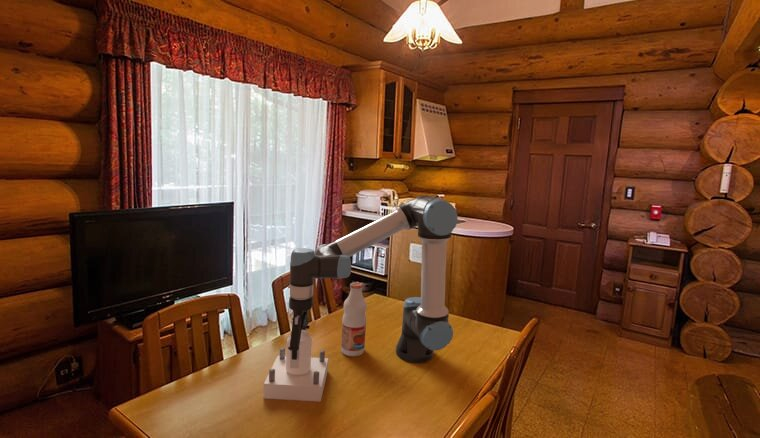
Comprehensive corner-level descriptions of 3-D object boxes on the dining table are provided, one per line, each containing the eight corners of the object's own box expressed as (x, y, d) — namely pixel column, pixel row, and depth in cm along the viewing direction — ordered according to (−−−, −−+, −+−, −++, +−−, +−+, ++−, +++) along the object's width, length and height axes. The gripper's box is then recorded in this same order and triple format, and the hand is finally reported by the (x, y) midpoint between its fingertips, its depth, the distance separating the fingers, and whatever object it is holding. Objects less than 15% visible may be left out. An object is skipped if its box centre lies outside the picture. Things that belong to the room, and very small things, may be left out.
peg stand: (327, 371, 143) (328, 349, 142) (320, 401, 126) (321, 376, 124) (277, 368, 143) (278, 346, 142) (263, 398, 125) (264, 373, 124)
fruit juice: (347, 343, 165) (350, 278, 161) (367, 348, 162) (372, 282, 158) (336, 353, 157) (340, 285, 152) (358, 359, 153) (362, 289, 149)
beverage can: (305, 378, 129) (306, 343, 127) (281, 374, 130) (282, 339, 128) (314, 366, 137) (315, 333, 135) (291, 362, 138) (293, 329, 136)
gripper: (297, 283, 142) (295, 339, 145) (280, 309, 117) (278, 376, 120) (318, 284, 142) (315, 340, 145) (305, 311, 117) (303, 378, 121)
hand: (298, 357), depth 133 cm, fingers open, 13 cm apart
